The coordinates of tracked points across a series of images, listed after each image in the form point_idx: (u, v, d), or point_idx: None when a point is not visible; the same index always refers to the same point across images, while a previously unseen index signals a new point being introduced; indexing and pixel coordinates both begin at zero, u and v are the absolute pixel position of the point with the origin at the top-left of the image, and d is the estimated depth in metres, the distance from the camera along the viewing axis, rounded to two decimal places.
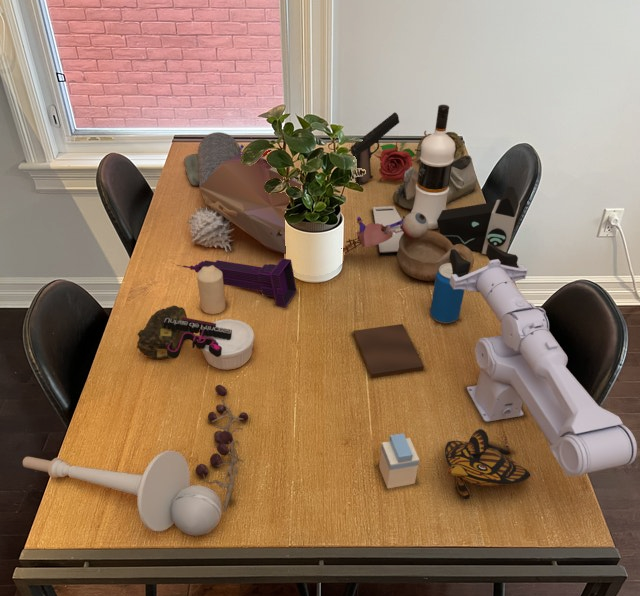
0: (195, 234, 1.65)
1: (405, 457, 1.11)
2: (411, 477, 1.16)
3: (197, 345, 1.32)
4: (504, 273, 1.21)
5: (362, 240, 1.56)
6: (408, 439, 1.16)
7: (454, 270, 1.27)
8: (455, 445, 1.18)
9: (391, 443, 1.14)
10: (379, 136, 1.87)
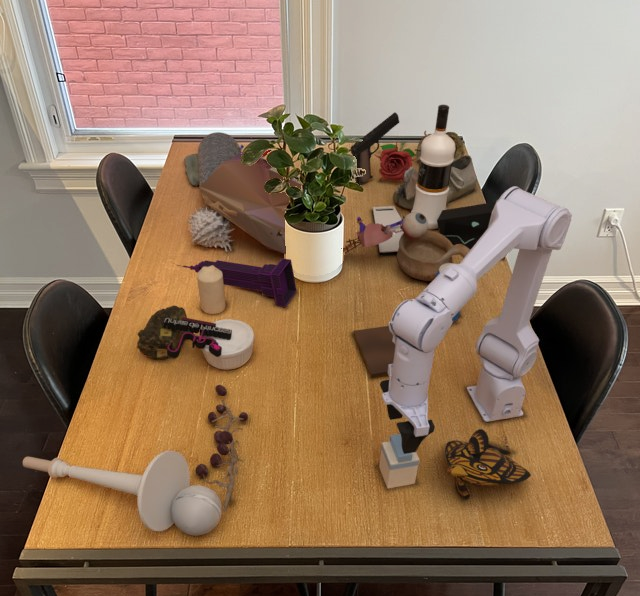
0: (195, 234, 1.65)
1: (405, 457, 1.11)
2: (411, 477, 1.16)
3: (197, 345, 1.32)
4: None
5: (362, 240, 1.56)
6: None
7: (420, 438, 1.06)
8: (455, 445, 1.18)
9: (391, 443, 1.14)
10: (379, 136, 1.87)
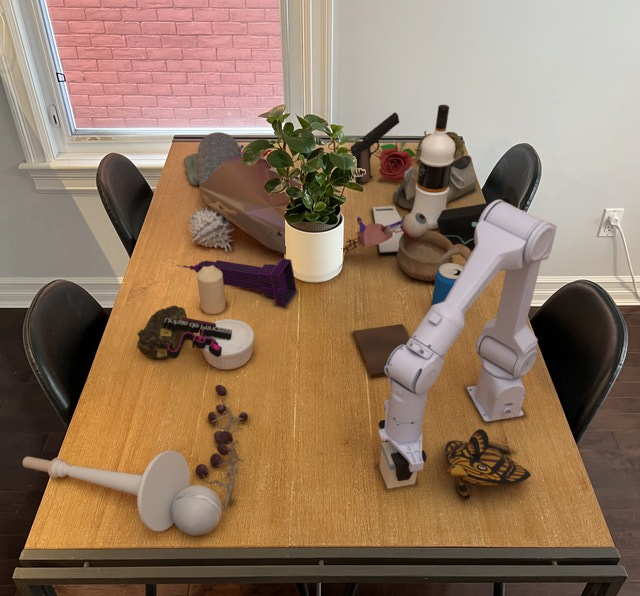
0: (195, 234, 1.65)
1: None
2: (411, 477, 1.16)
3: (197, 345, 1.32)
4: None
5: (362, 240, 1.56)
6: None
7: None
8: (455, 445, 1.18)
9: None
10: (379, 136, 1.87)
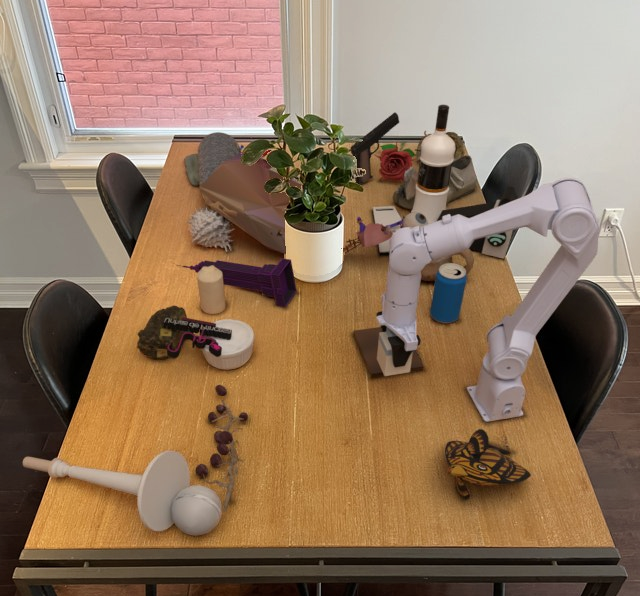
0: (195, 234, 1.65)
1: None
2: (406, 365, 1.25)
3: (197, 345, 1.32)
4: None
5: (362, 240, 1.56)
6: None
7: (408, 352, 1.22)
8: (455, 445, 1.18)
9: (388, 332, 1.24)
10: (379, 136, 1.87)
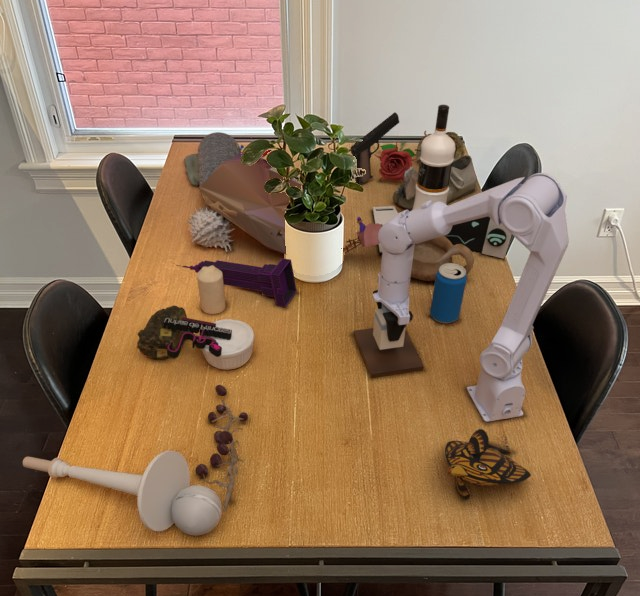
0: (195, 234, 1.65)
1: None
2: (399, 339, 1.37)
3: (197, 345, 1.32)
4: (379, 284, 1.30)
5: (362, 240, 1.56)
6: None
7: (402, 327, 1.33)
8: (455, 445, 1.18)
9: (383, 309, 1.35)
10: (379, 136, 1.87)
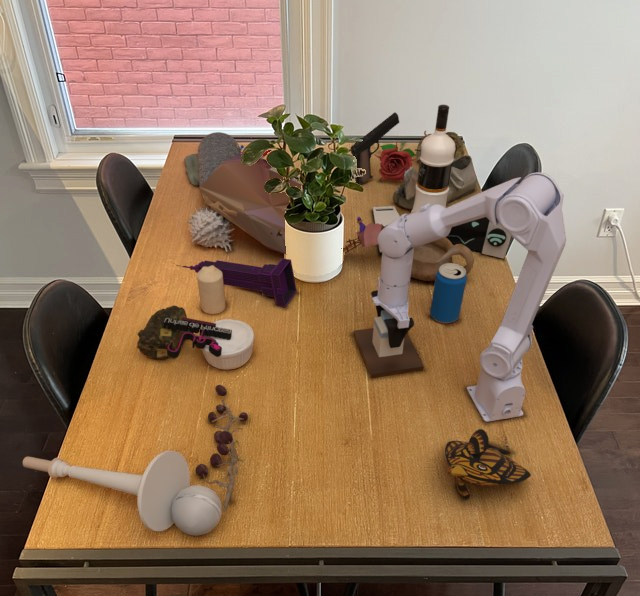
0: (195, 234, 1.65)
1: None
2: (398, 347, 1.38)
3: (197, 345, 1.32)
4: None
5: (362, 240, 1.56)
6: None
7: (403, 333, 1.33)
8: (455, 445, 1.18)
9: (382, 317, 1.37)
10: (379, 136, 1.87)
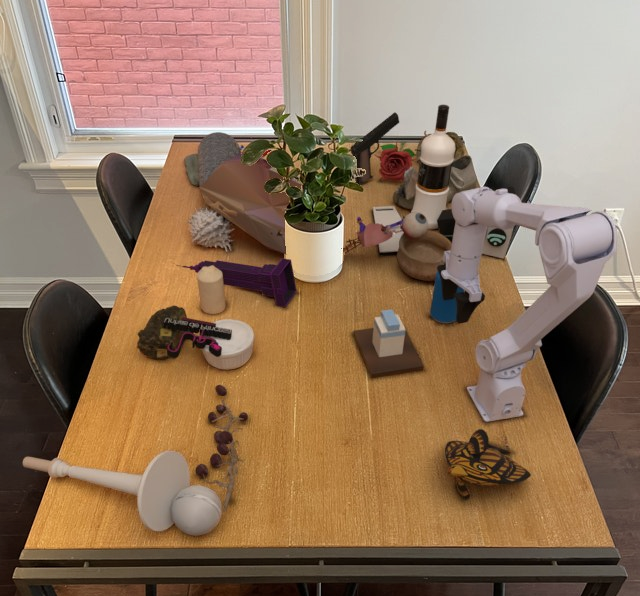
0: (195, 234, 1.65)
1: (393, 326, 1.34)
2: (398, 347, 1.38)
3: (197, 345, 1.32)
4: None
5: (362, 240, 1.56)
6: (396, 315, 1.38)
7: (472, 308, 1.30)
8: (455, 445, 1.18)
9: (382, 317, 1.37)
10: (379, 136, 1.87)
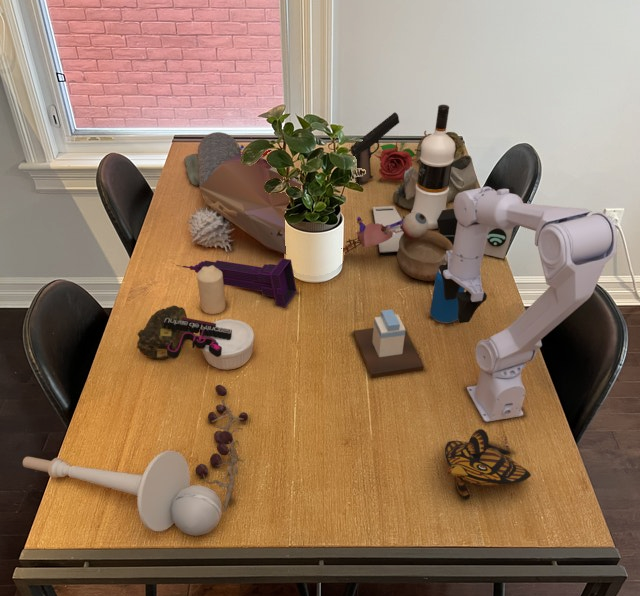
0: (195, 234, 1.65)
1: (393, 326, 1.34)
2: (398, 347, 1.38)
3: (197, 345, 1.32)
4: None
5: (362, 240, 1.56)
6: (396, 315, 1.38)
7: (474, 308, 1.30)
8: (455, 445, 1.18)
9: (382, 317, 1.37)
10: (379, 136, 1.87)
